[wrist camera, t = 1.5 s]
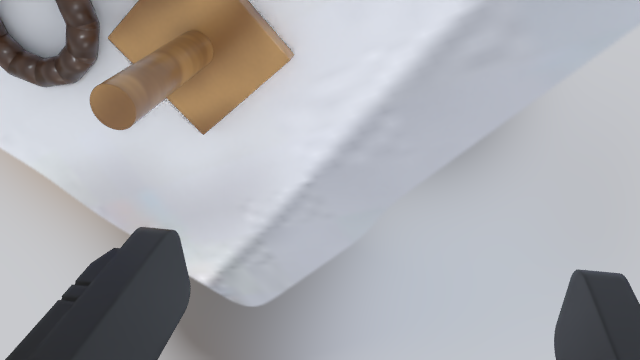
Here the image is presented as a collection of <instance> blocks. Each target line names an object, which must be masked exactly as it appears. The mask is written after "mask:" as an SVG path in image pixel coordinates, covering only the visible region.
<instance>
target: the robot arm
mask: <svg viewBox="0 0 640 360" xmlns="http://www.w3.org/2000/svg"><path fill="white" fill-rule="evenodd" d="M189 297H190V280H189V276H188V271H187V267H186V263H185V258H184V254H183V250H182V246H181V241H180V237H179V235H178V233H177V232H176V231H175V230H168V229H158V228H147V227H140V228H138V229H136V230H135V231H134V233H133V234H132V235H131V236H130V237H129V239H128V240H127V241H126V242H125V243H124V244H123V246H122V247H121V248H113V249H112V250H110V251H109V252H107V253H106V254H104V255H103V256H101V257H100V258H98V259H97V260H95V261H94V262H92V263H91V264H90V265H89V266H88V267H87V269H86V270H85V271H84V272H83V273H82V274H81V275H80V276H79V278H78V279H77V280H76V283H75V285H71V287H70V288H69V289H68V290H67V291H66V292H65V293H64V294H63V296H62V299H61V300H58V301H57V302H56V303H55V305H54V306H53V307H52V308H51V309H50V310H49V311H48V312H47V314H46V315H45V316H44V317H43V318H42V319H41V320H40V321H39V322H38V324H37V325H36V326H35V327H34V328H33V329H32V330H31V331H30V333H29V334H28V335H27V336H26V337H25V338H24V339H23V340H22V342H21V343H20V344H19V345H18V346H17V347H16V348H15V350H14V351H13V352H12V353H11V354H10V355H9V356H8V357H7V358H6V359H5V360H157V359H158V358H159V356H160V354H161V352H162V351H163V349H164V347H165V345H166V344H167V342H168V340H169V338H170V337H171V335H172V333H173V331H174V330H175V328H176V326H177V324H178V323H179V321H180V319H181V317H182V316H183V314H184V312H185V310H186V308H187V305H188V302H189ZM554 348H555V356H556V360H640V304H639V302H638V300H637V298H636V296H635V295H634V292H633V290H632V288H631V286H630V284H629V282H628V280H627V279H626V277H625V276H623V275H622V274H620V273H609V272H599V271H588V270H576V271H574V273H573V274H572V277H571V279H570V282H569V286H568V289H567V292H566V296H565V298H564V302H563V305H562V308H561V311H560V315H559V318H558V321H557V324H556V328H555V337H554Z"/></svg>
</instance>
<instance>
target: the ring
mask: <svg viewBox="0 0 640 360" xmlns="http://www.w3.org/2000/svg"><path fill="white" fill-rule="evenodd" d="M55 1H56V3H57V5H58V7H59V10H60V12H61V14H62V16H63V19H64V21H65V23H66V46H65V47H64V48H63V50H62V51H61V52H60V53H59V55H58V56H55V57H49V58H42V57H40V56H37V55H35V54H32V53H29V52H27V51H26V50H25V49H23V48H22V47H21V46H20V45H19V44H18V43H17V42H16V41H15V40H14V39H13V38H12V37H11V36H10V35H9V34H8V33H7V31H6V29H5V27H4V25H3V23H2V21H1V19H0V66H1V67H2V68H3V69H4V70H5V71H7V72H8V73H9V74H11V75H13V76H15V77H18V78H20V79H23V80H26V81H28V82H31V83H33V84H36V85H38V86H42V87H51V86H58V85H64V84H71V83H75V82H77V81H78V80H79V79H80V78H81V77H82V76H83V75H84V74H85V72H86V71H87V70H88V69H89V68H90V67H91V65H92V64H93V63H94V62H95V60H96V59H97V55H98V40H99V21H98V18H97V16H96V13H95V11H94V9H93V6H92V4H91V1H90V0H55Z"/></svg>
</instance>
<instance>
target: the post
mask: <svg viewBox="0 0 640 360" xmlns="http://www.w3.org/2000/svg"><path fill="white" fill-rule="evenodd" d="M108 39H109V40H110V41H111V42H112V43H113V44H114V45H115V46H116V47H117V48H118V49H119V50H120V51H121V52H122V53H123V54H124V55H125V56H126V57H127V58H128V59H129V60H130V61H131V62H132V63H133V64H132V65H131V66H129V67H127V68H126V69H124V70H122V71H121V72H119V73H117V74H116V75H114V76H112V77H111V78H109V79H108V80H106V81H104V82H103V83H101V84H99V85H98V86H96V87H95V88H94V89H93V90H92V92H91V95H90V105H91V108H92V111H93V113H94V114H95V116H96V117H97V118H98V120H99V121H101V122H102V123H103V124H104V125H106V126H108V127H110V128H112V129H116V130H124V129H128V128H130V127H131V126H132V125H133V124H135V123H136V122H137V121H138V120H140V119H141V118H142V117H143V116H145V115H146V114H147V113H148V112H150V111H151V110H152V109H153V108H154V107H156V106H157V105H158V104H159V103H161V102H162V101H163V100H164V99H166V98H167V99H168V100H169V101H170V102H171V103H172V104H173V105H174V106H175V107H176V108H177V109H178V110H179V111H180V112H181V113H182V114H183V115H184V116H185V117H186V118H187V119H188V120H189V121H190V122H191V123H192V124H193V125H194V126H195V127H196V128H197V129H198V130H199V131H200V132H201V133H202V134H203V135H204V134H205V133H206V132H208V131H209V130H210V129H211V128H212V127H213V126H215V125H216V124H217V123H218V122H219V121H220V120H221V119H223V118H224V117H225V116H226V115H227V114H228V113H230V112H231V111H232V110H233V109H234V108H235V107H237V106H238V105H239V104H240V103H241V102H242V101H243V100H245V99H246V98H247V97H248V96H249V95H250V94H252V93H253V92H254V91H255V90H256V89H257V88H259V87H260V86H261V85H262V84H263V83H264V82H265V81H267V80H268V79H269V78H270V77H271V76H272V75H274V74H275V73H276V72H277V71H278V70H279V69H281V68H282V67H283V66H284V65H285V64H286V63H288V62H289V61H290V60H291V58H292V57H293V56H294V54H293V52H292V51H291V50H290V49H289V48H288V47H287V45H286V44H285V43H284V42H283V41H282V40H281V38H280V37H279V36H278V35H277V34H276V33H275V31H274V30H273V29H272V28H271V27H270V26H269V24H268V23H267V22H266V21H265V20H264V19H263V18H262V16H261V15H260V14H259V13H258V12H257V11H256V9H255V8H254V7H253V6H252V5H251V4H250V2H249V1H248V0H139V1H138V2H137V3H136V4H135V6H134V7H133V8H132V9H131V10H130V11H129V13H128V14H127V15H126V16H125V17H124V19H123V20H122V21H121V22H120V23H119V25H118V26H117V27H116V28H115V29H114V31H113V32H112V33H111V34H110V35H109V37H108Z"/></svg>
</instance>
